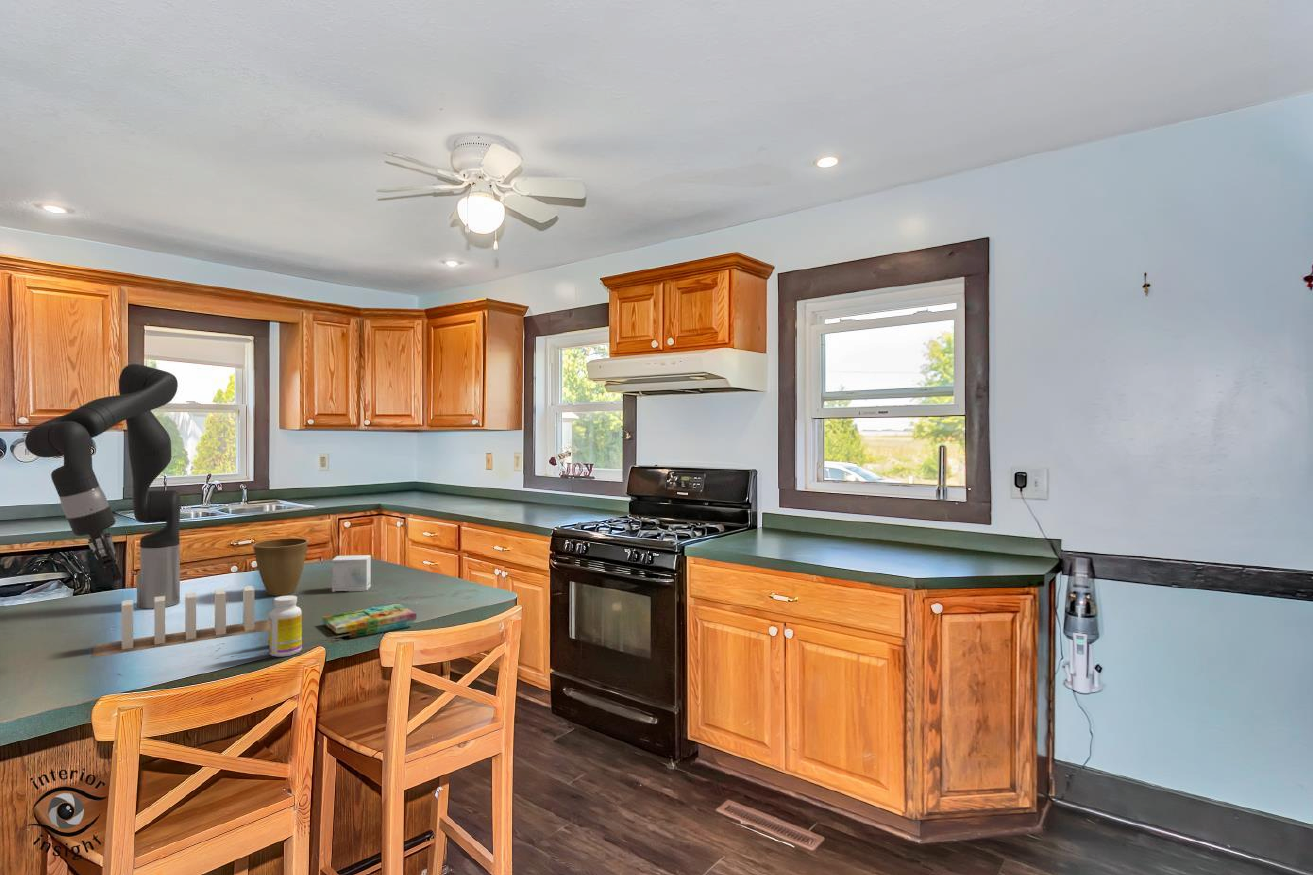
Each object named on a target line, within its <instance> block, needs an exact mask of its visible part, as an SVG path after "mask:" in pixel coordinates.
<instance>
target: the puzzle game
mask: <svg viewBox="0 0 1313 875" xmlns="http://www.w3.org/2000/svg"><path fill="white" fill-rule="evenodd" d="M416 619H417V613H415V612H414V611H412V610H411V609H409V608H407V607H406V606H403V605H402V604H399V603H394V604H389V605H383V606H372V607H371V606H370V608H366V609H359V610H356V611H349V612H343V613H337V614H332V615H328V616H321V622H322V623H323V624H324V625H325V626H326V627H327V628H329V629H330V630H331V631H333V632H334V634H335V633H336V634H344V633H349V634H347V637H349V638H351V639H352V638H359V637H362V636H363V637H364V636H369V635H373V634H377V633H379V634H380V633H384V632H388V631H394V630H398V629H399V630H400V629H404V628H410V627H411V626H412V625H413V623H414V622H415V621H416Z"/></svg>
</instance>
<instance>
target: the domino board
mask: <svg viewBox="0 0 1313 875" xmlns="http://www.w3.org/2000/svg"><path fill="white" fill-rule="evenodd" d="M266 631H269V619H264V620H257V621H254V630H248V631H245V630H244V627H243V622H242V623H237V624H228V625H226V634H221V635H216V632H215V626H214V627H209V628H201V629H196V638H195V639H188V640H186V635H185V631H180V632H174V633H168V634H167V633H165V643H162V644H155V635H154V636H153V635H152V636H145V637H140V638H139V637H138V638H133V648H128V649H122V640H120V641H111V642H105V643H98V644H95V645H94V649H93V652H92V655H91V658H96V657H103V656H108V655H115V654H116V655H117V654H123V653H130V652H136V651H142V650H147V649H148V650H149V649H153V648H154V649H155V648H161V647H168V646H175V645H181V644H189V643H196V642H201V641H206V640H209V641H210V640H215V639H219V638H220V639H221V638H228V637H233V636H239V635H246V634H247V635H248V634H255V633H258V632H259V633H260V632H261V633H262V632H266Z"/></svg>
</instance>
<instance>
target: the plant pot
mask: <svg viewBox="0 0 1313 875" xmlns="http://www.w3.org/2000/svg"><path fill="white" fill-rule="evenodd" d="M308 544H309V540H308V539H306V538H301V537H299V538H298V537H287V538H275V539H267V540H263V541H258V542H255V543H253V544H252V547H253V552H254V557H255V562H256V567H257V569H258V573H259V576H260V578H261V580H262V583H263V587H264V588H265V591H266V594H267V595H269V596H271V597H281V596H289V595H292V594H294V593H295V592H296V590H297V588H298V585H299V583H300V579H301V577H302V574H303V570H304V567H305V562H306V561H305V560H306V556H307V551H308Z"/></svg>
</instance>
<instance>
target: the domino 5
mask: <svg viewBox="0 0 1313 875" xmlns="http://www.w3.org/2000/svg"><path fill="white" fill-rule="evenodd" d="M254 622H255V588H254V586H253V585H248V586H242V623H243V627H244V630H245V631H248V630H254Z"/></svg>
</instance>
